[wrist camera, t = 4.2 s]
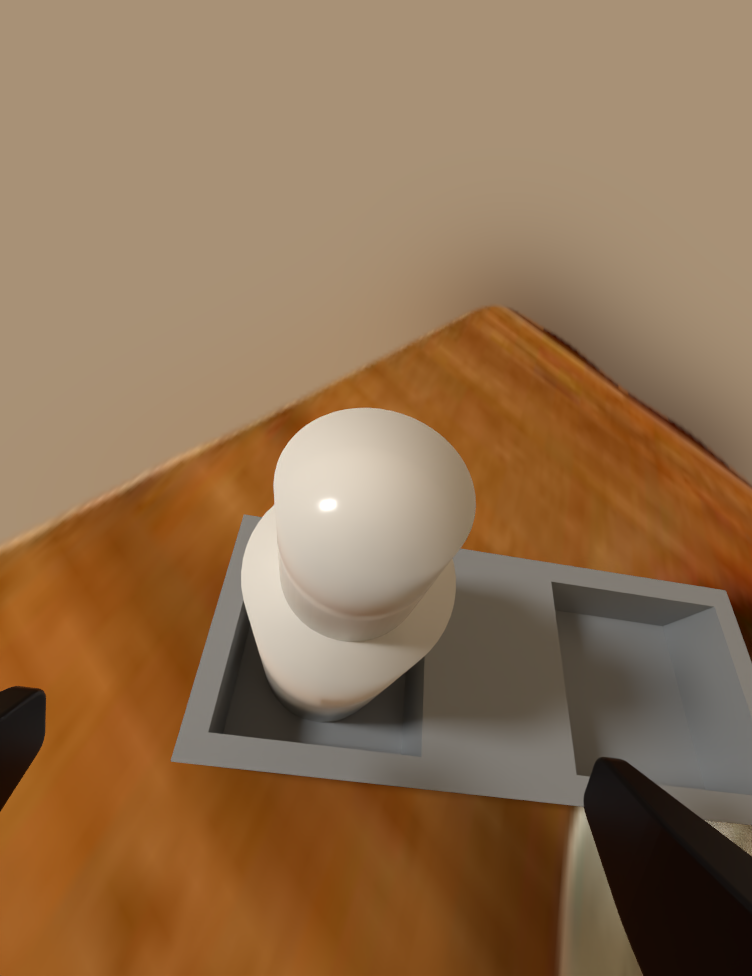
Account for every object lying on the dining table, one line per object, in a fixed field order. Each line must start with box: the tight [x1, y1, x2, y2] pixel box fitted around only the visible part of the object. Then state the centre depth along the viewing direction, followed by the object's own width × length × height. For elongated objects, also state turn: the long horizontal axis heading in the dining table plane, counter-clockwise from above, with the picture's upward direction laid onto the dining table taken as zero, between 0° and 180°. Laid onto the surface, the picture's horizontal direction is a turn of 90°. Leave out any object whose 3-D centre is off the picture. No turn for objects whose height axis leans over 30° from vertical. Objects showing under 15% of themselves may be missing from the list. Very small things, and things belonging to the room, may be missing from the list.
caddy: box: [171, 515, 752, 825], centre depth 17 cm, size 8×20×4 cm, turn 85°
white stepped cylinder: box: [241, 408, 476, 722], centre depth 12 cm, size 5×5×12 cm
